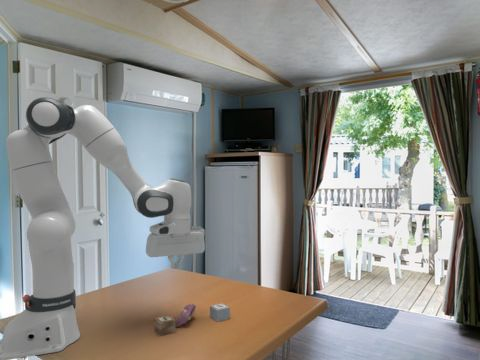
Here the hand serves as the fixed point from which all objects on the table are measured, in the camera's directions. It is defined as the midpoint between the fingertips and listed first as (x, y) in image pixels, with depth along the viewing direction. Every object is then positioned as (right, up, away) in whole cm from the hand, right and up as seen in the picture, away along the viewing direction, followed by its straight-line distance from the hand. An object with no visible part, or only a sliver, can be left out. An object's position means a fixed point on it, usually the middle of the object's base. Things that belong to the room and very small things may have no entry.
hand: (175, 268), depth 125 cm
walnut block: (-2, -18, -8) cm, 20 cm away
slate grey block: (+15, -18, +3) cm, 24 cm away
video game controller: (+3, -18, 0) cm, 19 cm away
